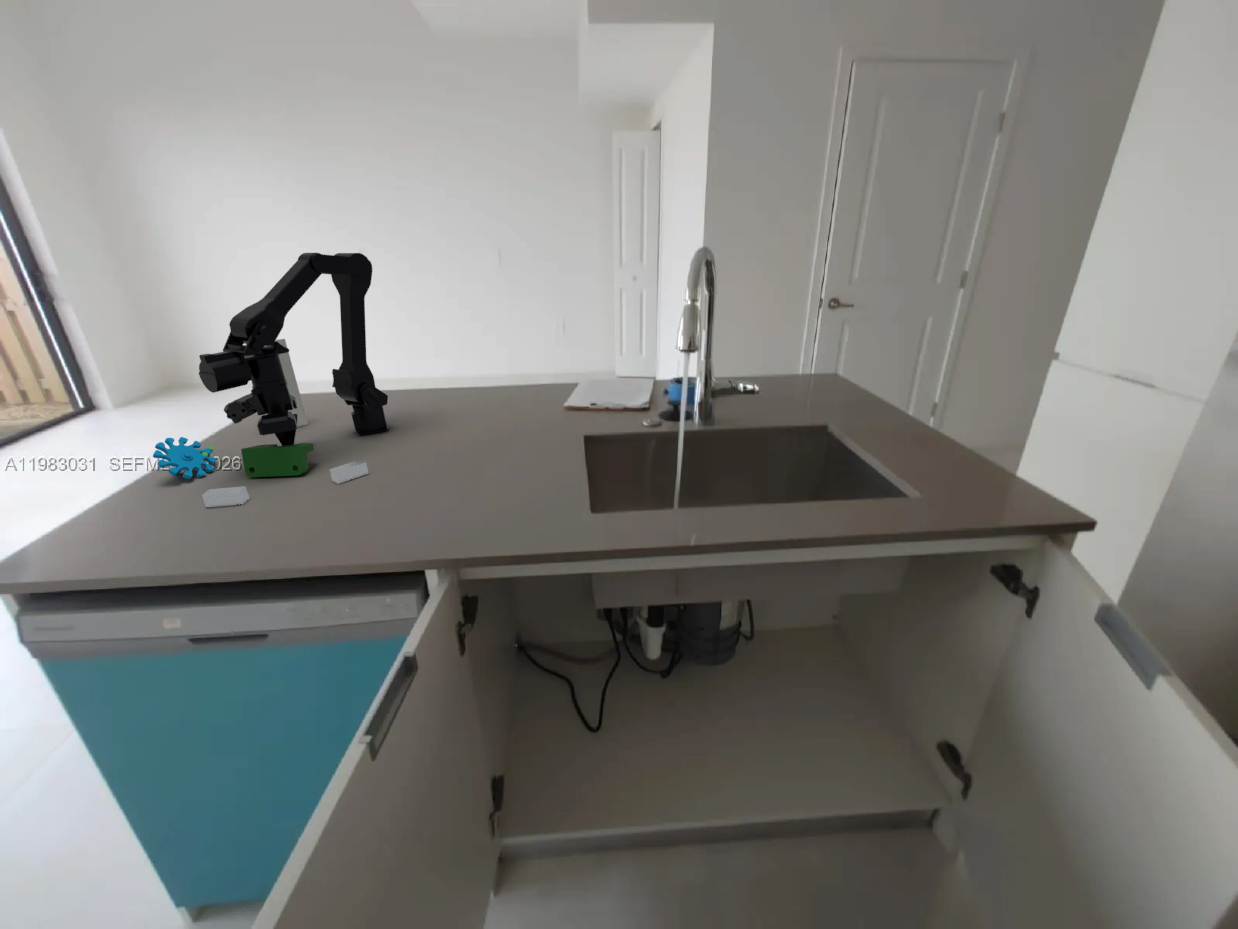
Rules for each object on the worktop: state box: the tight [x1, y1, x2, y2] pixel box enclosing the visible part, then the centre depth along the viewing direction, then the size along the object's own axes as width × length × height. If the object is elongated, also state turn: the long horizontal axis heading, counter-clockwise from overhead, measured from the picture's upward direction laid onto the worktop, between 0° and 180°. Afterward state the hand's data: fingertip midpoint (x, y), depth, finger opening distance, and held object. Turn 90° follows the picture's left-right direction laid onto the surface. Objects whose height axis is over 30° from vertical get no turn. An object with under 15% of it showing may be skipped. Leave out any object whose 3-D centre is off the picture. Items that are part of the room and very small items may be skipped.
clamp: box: [240, 442, 315, 478], centre depth 109 cm, size 12×6×9 cm, turn 87°
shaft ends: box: [201, 459, 369, 508], centre depth 101 cm, size 26×4×2 cm, turn 119°
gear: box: [152, 436, 217, 480], centre depth 109 cm, size 11×6×10 cm
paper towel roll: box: [245, 338, 309, 428], centre depth 130 cm, size 7×6×21 cm
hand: (289, 452), depth 114 cm, fingers closed
